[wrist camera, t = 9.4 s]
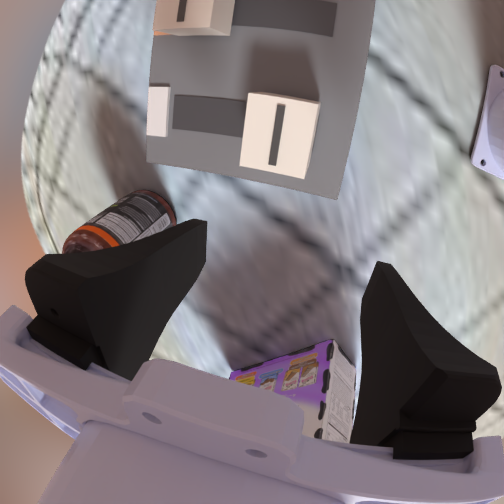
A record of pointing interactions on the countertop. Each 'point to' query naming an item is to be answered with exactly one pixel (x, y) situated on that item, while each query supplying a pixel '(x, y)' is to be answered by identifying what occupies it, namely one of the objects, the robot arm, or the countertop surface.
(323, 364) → the candy box
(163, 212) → the supplement bottle
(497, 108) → the robot arm
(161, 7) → the knob
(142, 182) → the countertop surface
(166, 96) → the panel
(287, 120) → the knob
